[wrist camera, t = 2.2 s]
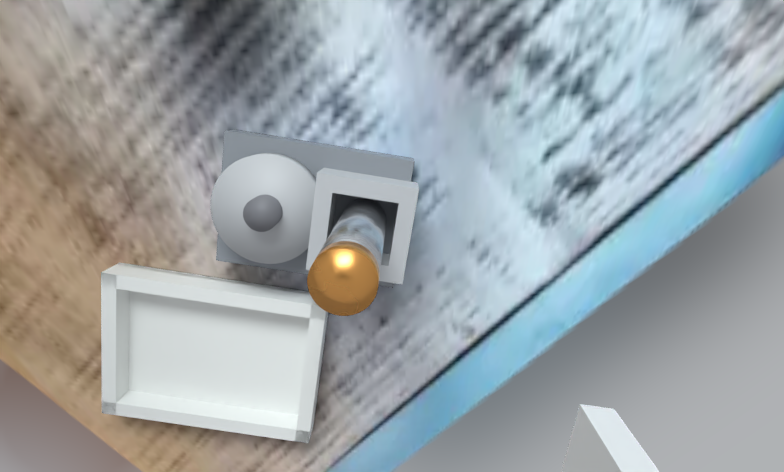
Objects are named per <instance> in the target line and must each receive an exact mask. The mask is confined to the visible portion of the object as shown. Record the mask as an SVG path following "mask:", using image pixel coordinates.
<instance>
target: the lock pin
mask: <svg viewBox="0 0 784 472" xmlns="http://www.w3.org/2000/svg"><path fill="white" fill-rule="evenodd" d="M386 223H387V219H386V214H385V212H384V210H383V208H382V207H381V206H380V205H379V204H378V203H377V202H375V201H373V200H370V199H358V200H355V201H353V202H351V203H350V204H349V205H348V206H347V207H346V208H345V210H344V212H343V213H342V215H341V217H340V218H339V220H338V222H337V223H336V225H335V227H334V228H333V230H332V232H331V233H330V235H329V237H328V239H327V240H326V242H325V244H324V245H323V247H322V249H321V250H320V252H319V254H318V255H317V257H316V259H315V260H314V262H313V264H312V266H311V268H310V270H309V273H308V278H307V284H308V290H309V293H310V295H311V297H312V299H313V300H314V302H315V303H316V304H317V305H318V306H319V307H320V308H322V309H323V310H325V311H326V312H329V313H331V314H334V315H339V316H349V315H354V314H357V313H359V312H361V311H363V310H365V309H366V308H367V307H368V306H369V305H370V304H371V303H372V302H373V300H374V298H375V296H376V294H377V290H378V284H379V277H380V269H381V261H382V254H383V246H384V238H385V231H386Z"/></svg>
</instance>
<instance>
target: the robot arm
mask: <svg viewBox="0 0 784 472" xmlns="http://www.w3.org/2000/svg"><path fill="white" fill-rule="evenodd" d="M561 472H659V471H658V469H657V468H656V466H655V465H654V464H653V462H652V461H651V459H650V458H649V457H648V455H647V454H646V452H645V451H644V450H643V448H642V447H641V446H640V444H639V443H638V441H637V440H636V439H635V437H634V436H633V435H632V433H631V432H630V431H629V429H628V428H627V426H626V425H625V423H624V422H623V421H622V419H621V418H620V416H619V415H618V414H617V412H616V411H615V410H614V409H610V408H603V407H596V406H589V405H582V404H580V405H579V409H578V413H577V417H576V420H575V424H574V427H573V431H572V434H571V438H570V442H569V445H568V449H567V453H566V456H565V460H564V463H563V467H562V471H561Z"/></svg>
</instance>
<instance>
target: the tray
mask: <svg viewBox="0 0 784 472" xmlns="http://www.w3.org/2000/svg"><path fill="white" fill-rule="evenodd" d="M328 314H329V312H326V311H325V310H323V309H322V308H320V307H319V306H318V305H317V304H316V303H315V302H314V300H313V299H312V297H311V295H310V293H309V292H307V291H301V290H294V289H288V288H281V287H275V286H268V285H262V284H256V283H249V282H243V281H236V280H230V279H223V278H217V277H210V276H204V275H197V274H191V273H184V272H178V271H171V270H165V269H158V268H152V267H145V266H139V265H132V264H126V263H118V264H116V265H114V266H112V267H110V268H109V269H107V270H105V271H103V272H101V341H102V413H105V414H112V415H119V416H126V417H133V418H139V419H146V420H153V421H160V422H167V423H173V424H180V425H187V426H194V427H201V428H208V429H214V430H221V431H228V432H235V433H242V434H248V435H255V436H262V437H269V438H276V439H283V440H289V441H296V442H303V443H309V440H310V436H311V433H312V429H313V426H314V419H315V412H316V404H317V397H318V389H319V381H320V374H321V366H322V359H323V351H324V344H325V336H326V329H327V321H328Z"/></svg>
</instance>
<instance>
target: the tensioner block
mask: <svg viewBox="0 0 784 472" xmlns="http://www.w3.org/2000/svg"><path fill="white" fill-rule="evenodd" d="M413 166H414V159H413V158H408V157H402V156H396V155H390V154H383V153H377V152H371V151H365V150H359V149H352V148H346V147H340V146H334V145H328V144H321V143H315V142H309V141H303V140H297V139H291V138H284V137H278V136H272V135H266V134H260V133H253V132H247V131H241V130H227V131H224V144H223V160H222V174H221V175H220V176H219V178H218V180H217V181H216V183H215V186H214V188H213V191H212V195H211V215H212V220H213V223H214V226H215V228H216V230H217V232H218V240H217V256H216V260H218V261H224V262H231V263H237V264H244V265H250V266H257V267H263V268H270V269H276V270H283V271H289V272H295V273H302V274H308V273H309V270H310V268H311V266H312V264H313V262H314V260H315V259H316V257H317V255H318V254H319V252H320V250H321V249H322V247H323V245H324V244H325V242H326V240H327V239H328V237H329V235H330V233H331V232H332V230H333V228H334V227H335V225H336V223H337V222H338V220H339V218H340V217H341V215H342V213H343V212H344V210H345V208H346V207H347V206H348V205H349V204H350V203H351V202H353V201H355V200H358V199H370V200H373V201H375V202H377V203H378V204H379V205H380V206H381V207H382V208H383V210H384V212H385V214H386V219H387V223H386V231H385V238H384V246H383V254H382V261H381V269H380V277H379V284H378V285H379V286H386V287H392V288H393V284H394V283H396V284H403V278H404V273H405V267H406V261H407V255H408V250H409V244H410V238H411V232H412V227H413V221H414V215H415V210H416V204H417V198H418V192H419V187H418V183H417V182H411V178H412V172H413Z"/></svg>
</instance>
